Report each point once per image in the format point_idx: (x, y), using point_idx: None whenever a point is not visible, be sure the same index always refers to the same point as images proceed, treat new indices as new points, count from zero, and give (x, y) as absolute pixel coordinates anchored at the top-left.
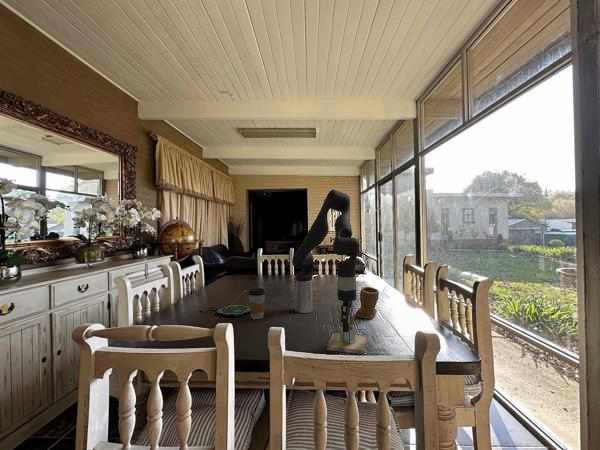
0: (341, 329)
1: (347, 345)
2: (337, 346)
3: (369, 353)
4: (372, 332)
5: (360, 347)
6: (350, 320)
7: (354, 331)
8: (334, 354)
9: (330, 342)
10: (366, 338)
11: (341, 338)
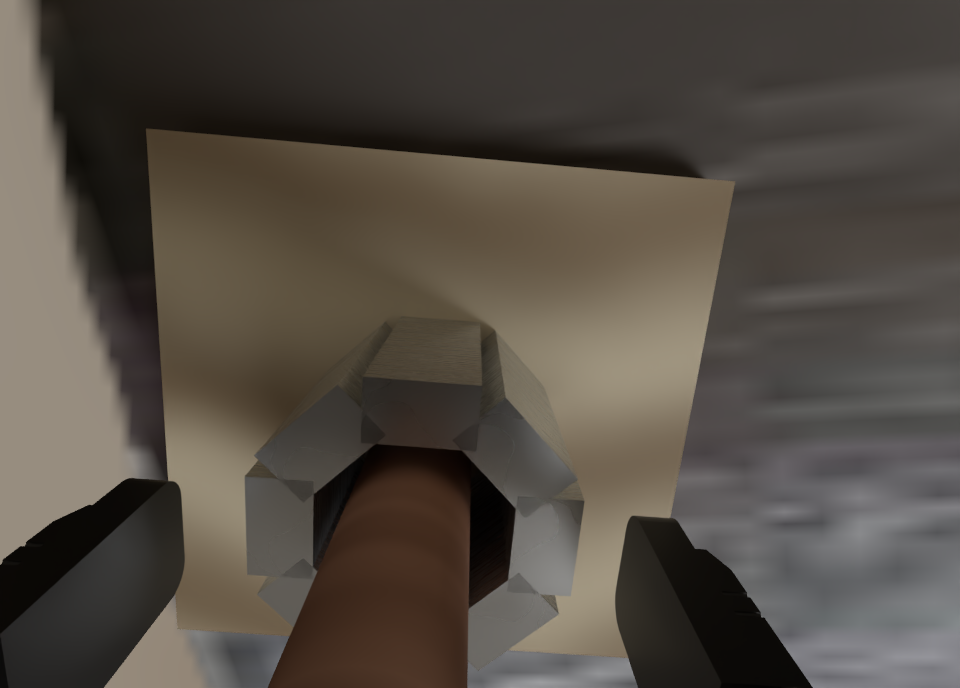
0: (302, 425)
1: (262, 436)
2: (181, 302)
3: (245, 643)
4: (888, 678)
5: (246, 592)
6: (646, 676)
7: None
8: (77, 263)
9: (303, 175)
10: (562, 653)
11: (339, 364)
